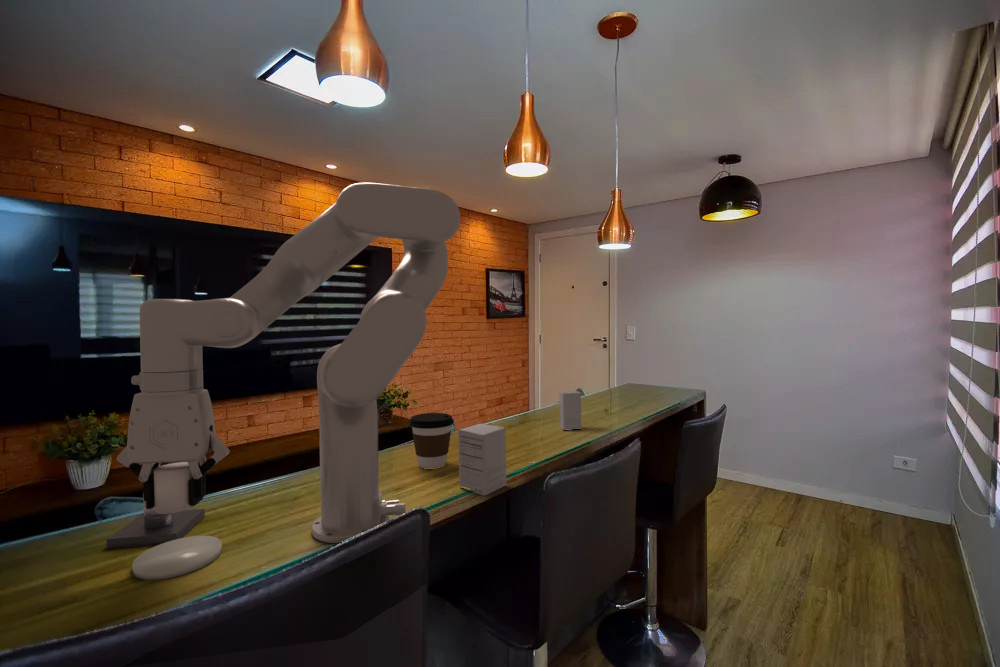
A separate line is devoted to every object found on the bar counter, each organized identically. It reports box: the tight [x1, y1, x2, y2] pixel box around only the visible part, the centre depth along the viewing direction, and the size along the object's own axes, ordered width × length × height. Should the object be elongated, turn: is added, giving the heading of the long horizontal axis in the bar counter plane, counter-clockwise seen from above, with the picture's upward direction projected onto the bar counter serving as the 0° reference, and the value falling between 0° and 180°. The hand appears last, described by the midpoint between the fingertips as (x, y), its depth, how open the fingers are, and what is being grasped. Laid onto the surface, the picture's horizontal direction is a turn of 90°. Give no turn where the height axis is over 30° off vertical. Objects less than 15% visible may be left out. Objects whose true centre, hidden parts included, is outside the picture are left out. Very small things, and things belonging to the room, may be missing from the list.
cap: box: [154, 461, 194, 514], centre depth 70 cm, size 6×5×6 cm
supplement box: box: [457, 423, 507, 497], centre depth 98 cm, size 7×7×13 cm
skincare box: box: [558, 390, 582, 430], centre depth 149 cm, size 6×4×12 cm
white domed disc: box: [131, 535, 223, 581], centre depth 69 cm, size 11×11×1 cm
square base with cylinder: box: [105, 492, 206, 549], centre depth 79 cm, size 10×10×7 cm
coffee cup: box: [408, 412, 455, 469], centre depth 113 cm, size 11×11×12 cm
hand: (175, 502), depth 69 cm, fingers closed on cap, 4 cm apart
